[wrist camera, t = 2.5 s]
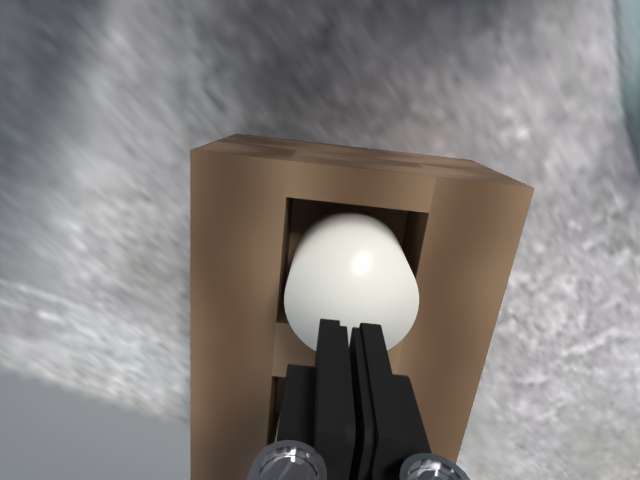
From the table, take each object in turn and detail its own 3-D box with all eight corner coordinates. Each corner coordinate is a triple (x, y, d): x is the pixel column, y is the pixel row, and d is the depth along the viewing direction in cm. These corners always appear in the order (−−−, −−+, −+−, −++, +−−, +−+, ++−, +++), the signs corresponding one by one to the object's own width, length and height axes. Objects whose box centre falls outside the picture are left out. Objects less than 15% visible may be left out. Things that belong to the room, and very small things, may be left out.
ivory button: (410, 216, 18) (431, 247, 14) (392, 315, 20) (406, 366, 16) (298, 203, 18) (289, 232, 14) (289, 303, 20) (279, 352, 16)
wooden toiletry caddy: (471, 160, 24) (534, 188, 16) (415, 404, 30) (443, 507, 22) (235, 133, 24) (190, 150, 16) (226, 384, 30) (190, 480, 22)
